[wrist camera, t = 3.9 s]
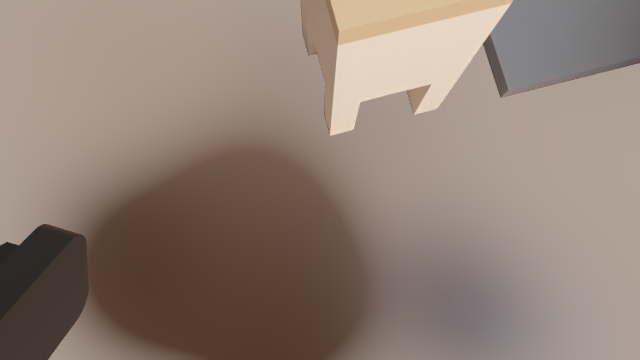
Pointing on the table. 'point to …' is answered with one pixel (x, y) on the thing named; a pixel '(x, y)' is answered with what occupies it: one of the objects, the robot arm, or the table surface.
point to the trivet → (561, 41)
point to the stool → (393, 49)
